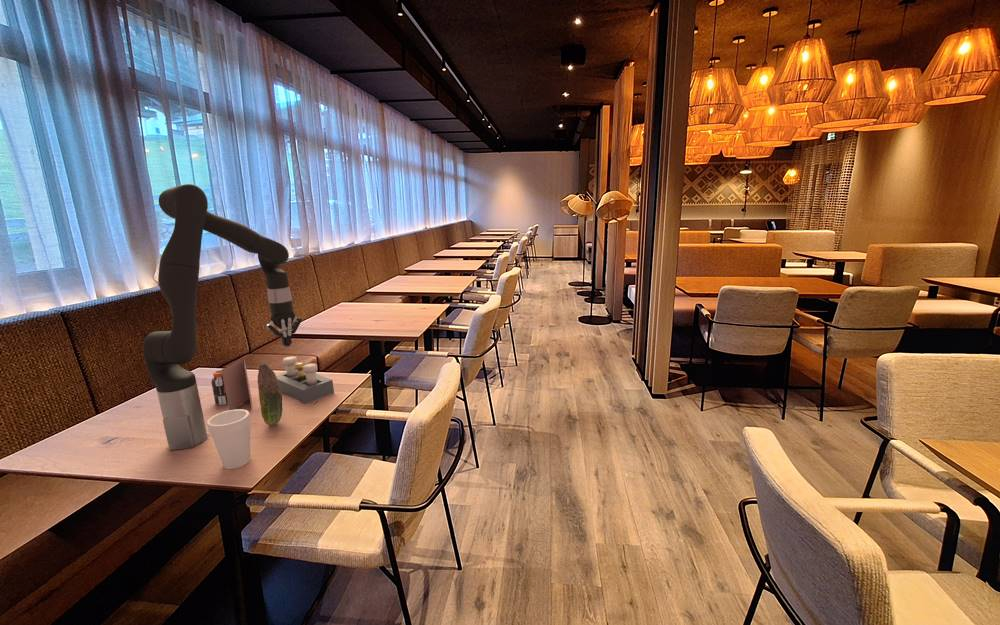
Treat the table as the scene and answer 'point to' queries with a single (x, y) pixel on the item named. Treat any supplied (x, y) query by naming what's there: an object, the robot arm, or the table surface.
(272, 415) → the vegetable
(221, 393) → the pill bottle
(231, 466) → the foam cup
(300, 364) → the gold tall rounded piece
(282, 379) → the mount
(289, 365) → the far cream knob
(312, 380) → the near cream knob
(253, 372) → the table surface
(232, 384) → the greeting card
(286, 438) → the table surface
